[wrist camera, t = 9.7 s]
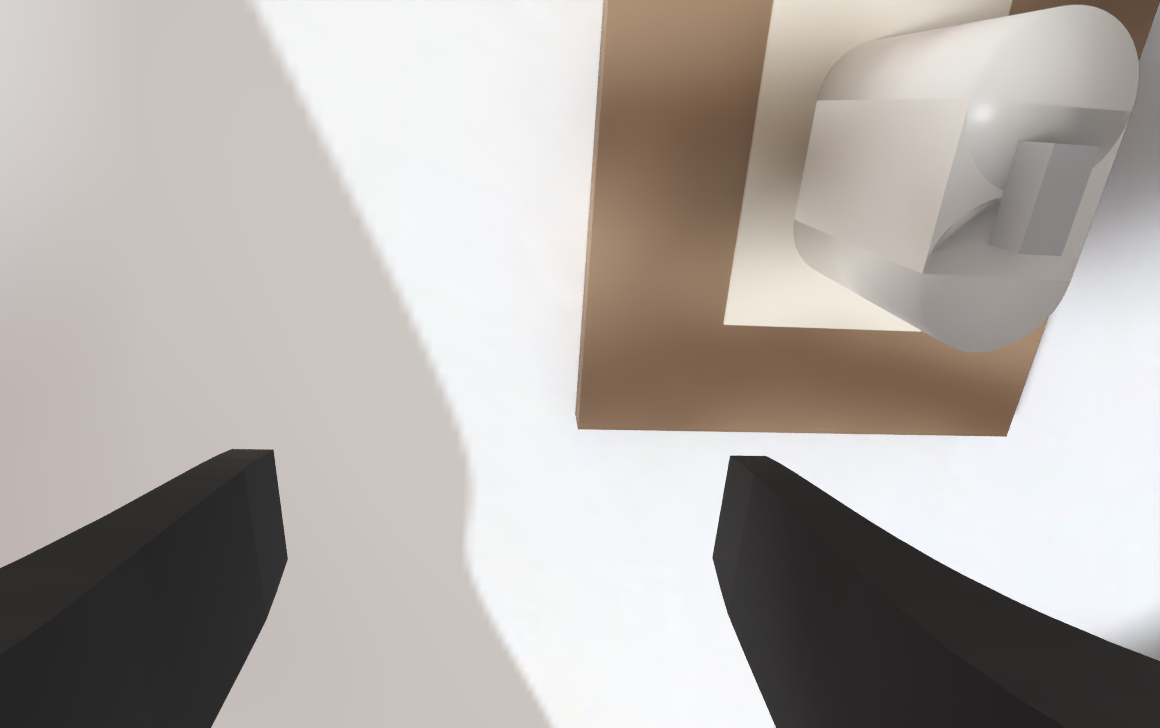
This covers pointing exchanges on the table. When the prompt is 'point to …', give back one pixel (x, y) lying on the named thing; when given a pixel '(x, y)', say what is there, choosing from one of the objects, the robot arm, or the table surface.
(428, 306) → the table surface
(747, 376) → the walnut board
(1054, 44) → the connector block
